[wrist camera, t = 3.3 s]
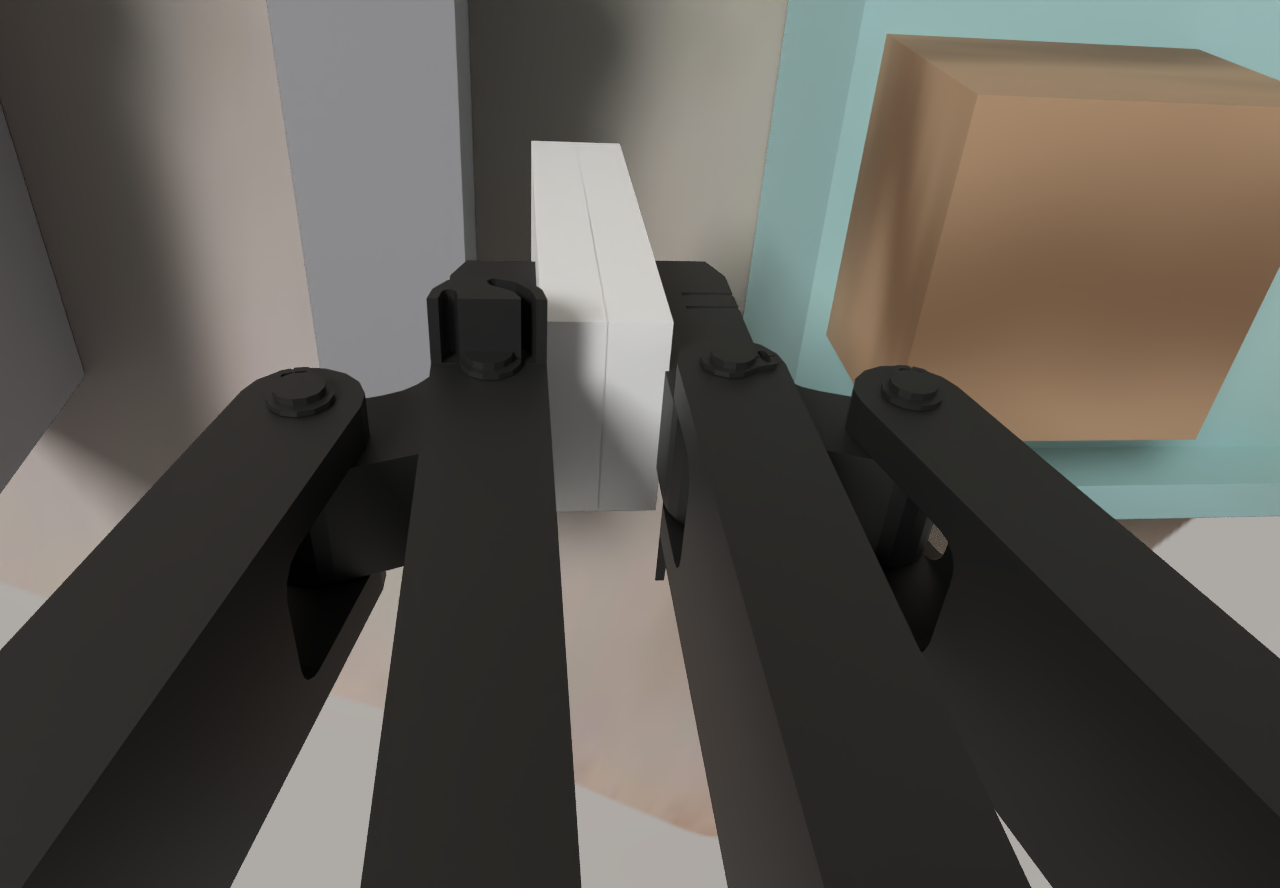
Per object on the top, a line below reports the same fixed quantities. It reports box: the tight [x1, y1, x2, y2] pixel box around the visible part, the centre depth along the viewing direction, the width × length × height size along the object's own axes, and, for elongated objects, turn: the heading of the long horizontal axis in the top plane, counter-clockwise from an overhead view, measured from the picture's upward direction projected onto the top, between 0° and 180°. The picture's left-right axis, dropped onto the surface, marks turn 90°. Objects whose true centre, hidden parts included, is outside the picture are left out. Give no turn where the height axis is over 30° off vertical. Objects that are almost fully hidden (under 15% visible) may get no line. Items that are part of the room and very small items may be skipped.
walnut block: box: [826, 34, 1280, 441], centre depth 17 cm, size 6×6×4 cm
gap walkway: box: [0, 0, 1280, 519], centre depth 18 cm, size 14×34×9 cm, turn 87°
